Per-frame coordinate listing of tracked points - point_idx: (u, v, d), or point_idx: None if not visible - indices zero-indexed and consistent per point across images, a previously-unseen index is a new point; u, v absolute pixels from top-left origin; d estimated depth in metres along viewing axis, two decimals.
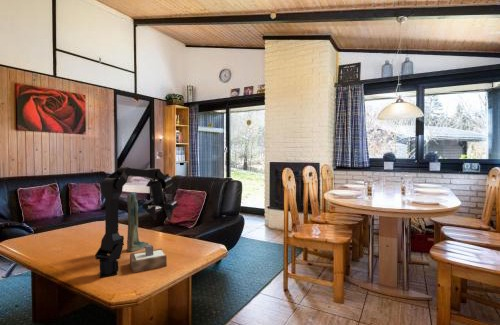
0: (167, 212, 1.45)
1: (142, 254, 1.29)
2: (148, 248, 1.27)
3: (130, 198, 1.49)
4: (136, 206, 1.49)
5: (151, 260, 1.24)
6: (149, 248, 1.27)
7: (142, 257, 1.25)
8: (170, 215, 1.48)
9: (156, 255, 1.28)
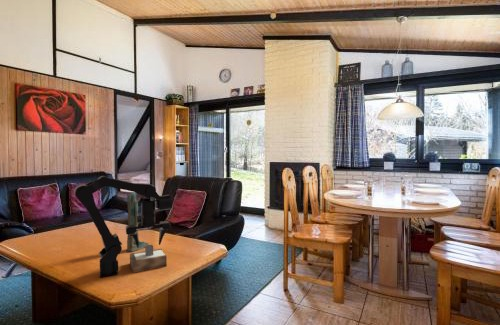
0: (163, 233, 1.29)
1: (142, 254, 1.29)
2: (148, 248, 1.27)
3: (130, 198, 1.49)
4: (136, 206, 1.49)
5: (151, 260, 1.24)
6: (149, 248, 1.27)
7: (142, 257, 1.25)
8: None
9: (156, 255, 1.28)
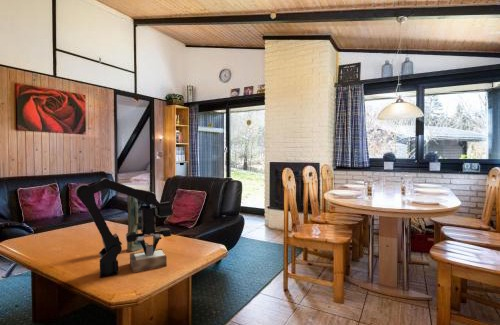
0: (157, 241, 1.28)
1: (142, 254, 1.29)
2: (148, 248, 1.27)
3: (130, 198, 1.49)
4: (136, 206, 1.49)
5: (151, 260, 1.24)
6: (149, 248, 1.27)
7: (142, 257, 1.25)
8: None
9: (156, 255, 1.28)
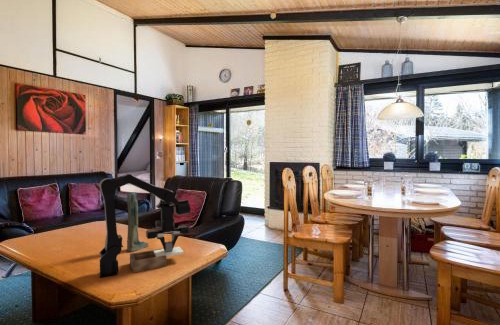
0: (176, 238, 1.32)
1: (161, 251, 1.33)
2: (167, 245, 1.31)
3: (130, 198, 1.49)
4: (136, 206, 1.49)
5: (151, 260, 1.24)
6: (168, 245, 1.31)
7: (162, 253, 1.29)
8: None
9: (175, 251, 1.32)
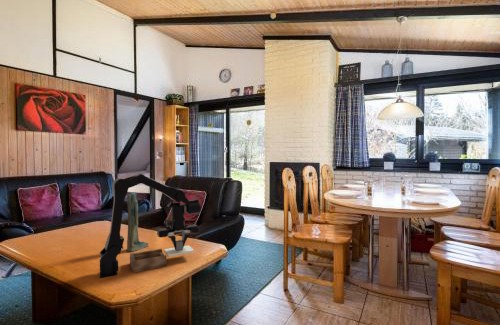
0: (186, 236, 1.34)
1: (172, 250, 1.35)
2: (178, 243, 1.33)
3: (130, 198, 1.49)
4: (136, 206, 1.49)
5: (151, 260, 1.24)
6: (179, 243, 1.34)
7: (173, 252, 1.31)
8: None
9: (185, 250, 1.34)
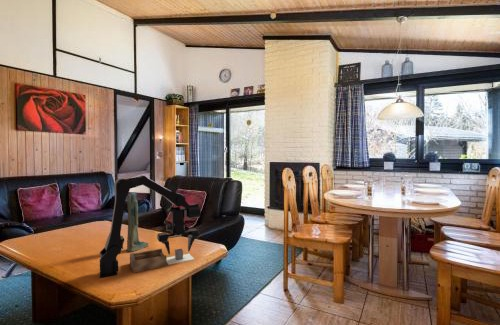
0: (193, 240, 1.35)
1: (172, 258, 1.35)
2: (178, 252, 1.33)
3: (130, 198, 1.49)
4: (136, 206, 1.49)
5: (151, 260, 1.24)
6: (179, 252, 1.34)
7: (173, 261, 1.32)
8: None
9: (186, 259, 1.34)
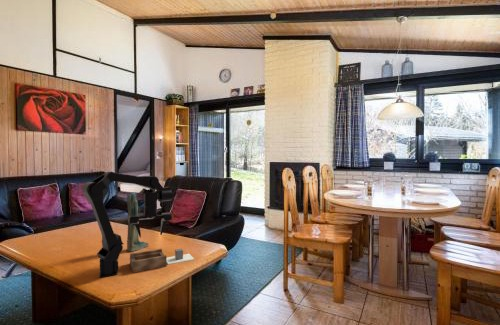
0: (165, 223, 1.34)
1: (172, 258, 1.35)
2: (178, 252, 1.33)
3: (130, 198, 1.49)
4: (136, 206, 1.49)
5: (151, 260, 1.24)
6: (179, 252, 1.34)
7: (173, 261, 1.32)
8: None
9: (186, 259, 1.34)
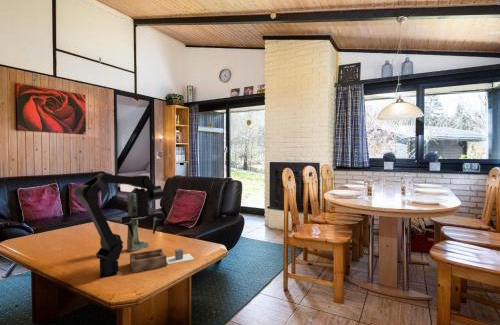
0: (157, 222, 1.34)
1: (172, 258, 1.35)
2: (178, 252, 1.33)
3: (130, 198, 1.49)
4: None
5: (151, 260, 1.24)
6: (179, 252, 1.34)
7: (173, 261, 1.32)
8: None
9: (186, 259, 1.34)
